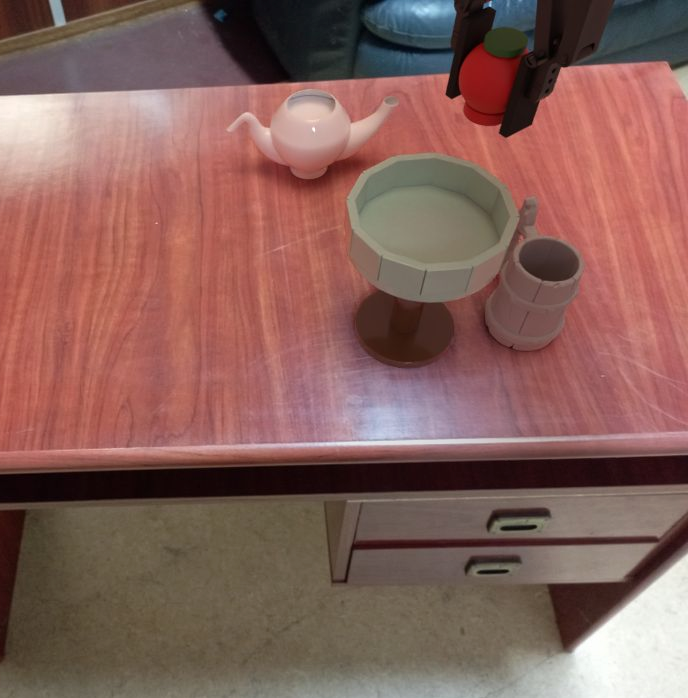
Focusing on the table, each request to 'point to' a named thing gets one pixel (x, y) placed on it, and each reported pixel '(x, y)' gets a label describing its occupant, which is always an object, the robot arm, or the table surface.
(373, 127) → the teapot
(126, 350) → the table surface
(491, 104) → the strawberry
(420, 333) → the dish
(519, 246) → the mug
